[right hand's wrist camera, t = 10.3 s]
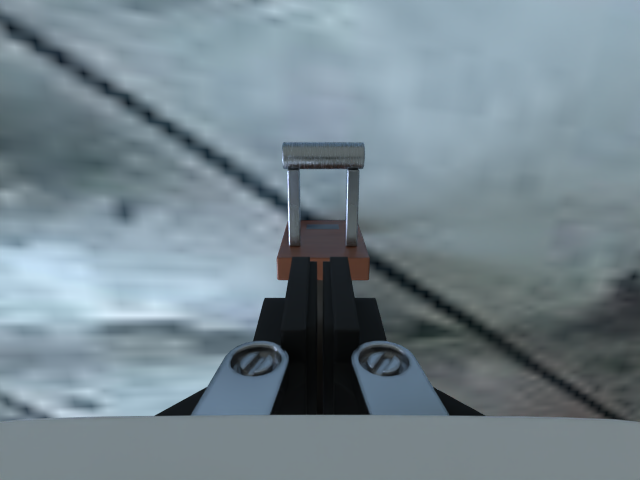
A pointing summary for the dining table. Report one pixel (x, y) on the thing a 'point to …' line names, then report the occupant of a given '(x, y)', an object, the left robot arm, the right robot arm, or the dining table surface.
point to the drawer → (323, 223)
